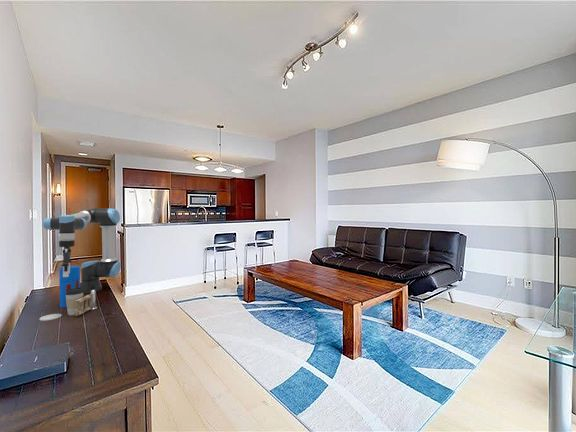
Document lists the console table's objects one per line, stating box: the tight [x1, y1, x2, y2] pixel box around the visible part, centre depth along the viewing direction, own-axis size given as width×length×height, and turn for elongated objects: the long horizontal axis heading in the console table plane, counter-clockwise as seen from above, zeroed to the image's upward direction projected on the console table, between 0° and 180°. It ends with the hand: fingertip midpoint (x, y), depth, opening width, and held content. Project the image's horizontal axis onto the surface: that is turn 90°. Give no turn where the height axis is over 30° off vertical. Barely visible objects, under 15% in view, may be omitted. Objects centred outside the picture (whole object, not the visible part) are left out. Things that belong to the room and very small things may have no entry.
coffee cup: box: [66, 287, 84, 316], centre depth 175 cm, size 9×9×15 cm
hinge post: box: [90, 290, 98, 311], centre depth 183 cm, size 4×4×12 cm
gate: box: [74, 293, 93, 317], centre depth 175 cm, size 14×1×9 cm, turn 3°
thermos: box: [58, 265, 81, 308], centre depth 190 cm, size 11×11×25 cm
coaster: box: [39, 313, 62, 322], centre depth 168 cm, size 10×10×1 cm
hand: (66, 275), depth 174 cm, fingers open, 13 cm apart
